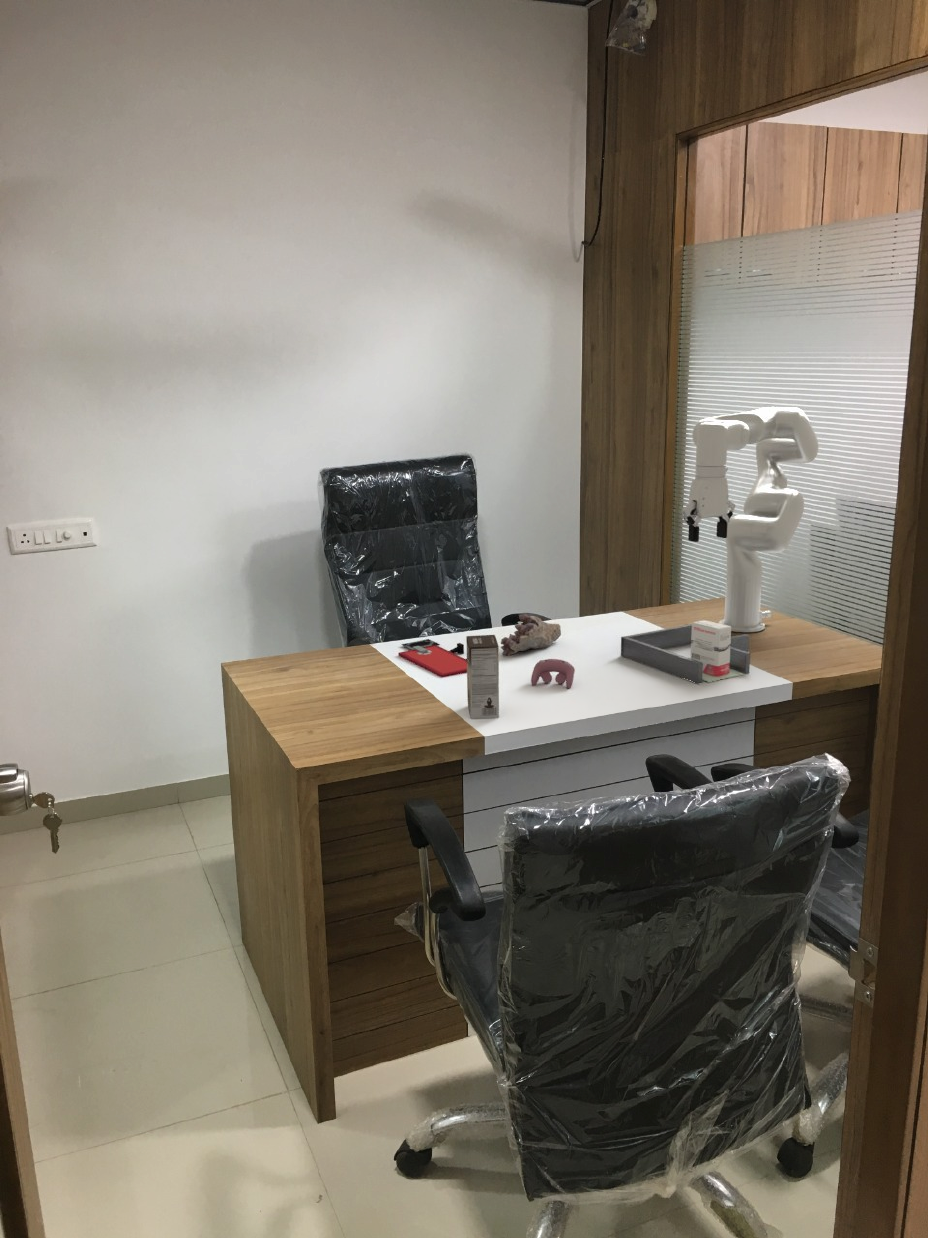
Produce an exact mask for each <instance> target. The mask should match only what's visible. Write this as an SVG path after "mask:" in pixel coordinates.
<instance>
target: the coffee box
mask: <svg viewBox="0 0 928 1238" xmlns="http://www.w3.org/2000/svg"><path fill="white" fill-rule="evenodd" d="M465 641H466V659H467V673H466V681H467V682H466V685H467V686H466V688H467V689H466V690H467V693H466V694H467V708H468V713H469V717H470V719H471V720H475V719H476V720H477V719H481V720H482V719H496V718H497V719H498V718H500V711H499V710H500V708H499V707H500V702H499V701H500V699H499V698H500V690H499V689H500V687H499V684H500V681H499V680H500V679H499V675H500V674H499V673H500V672H499V671H500V669H499V663H500V661H499V660H500V659H499V655H500V653H499V643H498V640H497V638H496V635H495V634H485V635H484V634H482V635H480V634H479V635H467V636H466V639H465Z"/></svg>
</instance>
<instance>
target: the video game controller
mask: <svg viewBox="0 0 928 1238" xmlns="http://www.w3.org/2000/svg"><path fill="white" fill-rule="evenodd" d="M534 665H535V666H534V667H533V670H532V673H531V678H530V684H531V686H532V687H533V686H534V687H535V686H536V685H537V684H538V682H539V680H540V678H541V679H542V680H541V681H543V683H545V684H550V683H551V682H552V681H553V675H552V674H551V673H553V672H554V673H557V674H556V675H555V677H554V681H555V682H556V684H558V685H563V684H565V686H566V689H571V687H572V685H573V681H574V677H575V667H574V666H573V665H572V664H571V663H570V662H568V661H565V660H564V659H557V658H547V659H541V660H538V662H536V664H534Z"/></svg>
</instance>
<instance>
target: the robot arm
mask: <svg viewBox="0 0 928 1238" xmlns="http://www.w3.org/2000/svg"><path fill="white" fill-rule="evenodd" d="M691 437H692V442H693V444H694V445H695V447H696V449H695V450H696V452H695V473H694V475H695V476H694V477H693V478H692V480H691V483H690V489H689V493H688V494H689V496H688V503H687V504H688V505H686V506H685V507H683V508H682V509H681V514H682V516H683V520H684V521H685V523H686V525H687V526H688V542H694V543H699V541H700V526H698V525H699V523H700V522H701V520H702V519H709V518H710V519H711V518H717V519H718V520H717V522H716V534H715V535H716V537H717V538H720V539H721V538H722V539H725V544H726V545H725V546H726V576H725V577H726V580H725V581H726V582H725V598H724V600H725V601H724V618H723V619H720V620H719V621H718V622H717V623H719V624H723V625H727V626H731V632H736V633H755V632H761V631H763V630H765V628H766V624H765V623H764V622H763V619H765V618H766V619H768V618H771V616H772V611H771V610H764V611H763V610H761V598H762V581H763V580H762V579H763V563H762V561H761V559H760V557H759V554H758V553H757V552H762V553H769V554H771V553H772V554H777V553H778V554H780V553H783V552H784V551H785V550H786V549H787V548H788V546H789V545H790V543H791V541H792V539H793V537H794V534H795V532H796V530H797V529H798V526H799V524H800V521H801V520H802V517H803V514H804V511H805V510H804V508H805V498H804V496H803V495H802V493H801V492H800V491H798V490H796V489H792V488H787V486H788V483H789V481H788V478H787V475H786V473H785V471H783V469H782V467H780V466H779V463H789V464H790V463H791V464H792V463H793V464H808V463H811V462H813V461H814V460H815V459H816V457H817V455H818V453H819V440H818V437H817V435H816V433H815V429H813V426H812V424H811V422H810V420H809V418H808V416H807V415H806V413H805V412H804V411H803V410H802V409H800V408H798V407H782V406H781V407H780V406H779V407H778V406H776V407H775V406H771V407H769V406H767V407H762V408H759V409H758V408H757V409H755V410H751V411H746V412H739V413H733V414H726V415H725V414H724V415H718V416H717V415H716V416H710V417H707V418H704V419H701V420H699V421H698V422H697V423H696V424H695V425H694V428H693V430H692V436H691ZM753 444H756V445H755V456H756V466H757V468H756V469H757V476H756V479H755V482H754V483H753V484H752V487H751V489H750V491H749V493H748V494H747V497H746V499H745V502H744V504H743V514H737V515H734V516H733V514H734V511H735V508H736V504H735V503H734V502H732V501H731V500H729V486H728V485H729V483H728V478H727V477H726V476H727V472H728V471H729V470H728V467H727V458H728V457H727V455H728V451H733V452H734V451H739V450H741V449H743V448H745V447H746V446H747V445H753Z"/></svg>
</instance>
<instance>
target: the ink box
mask: <svg viewBox="0 0 928 1238" xmlns="http://www.w3.org/2000/svg"><path fill="white" fill-rule="evenodd" d="M691 624H692V634H691V644H690V657H689V658H690V659H693V660H696V661H699V662H702V663H703V673H706V674H709V675H713V676H716V677H718V676H721V675H725V674H728V673H729V669H730V645H731V637H732V631H731V626H727V625H723V624H719V623H718V622H713V621H710V620H697V621H693V622H692V623H691Z"/></svg>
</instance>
